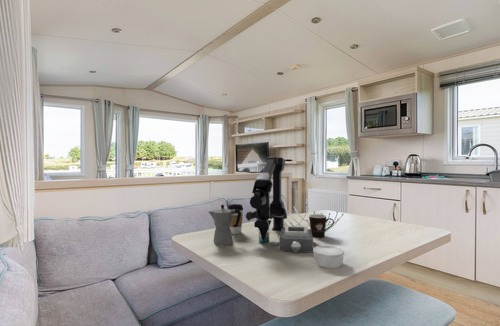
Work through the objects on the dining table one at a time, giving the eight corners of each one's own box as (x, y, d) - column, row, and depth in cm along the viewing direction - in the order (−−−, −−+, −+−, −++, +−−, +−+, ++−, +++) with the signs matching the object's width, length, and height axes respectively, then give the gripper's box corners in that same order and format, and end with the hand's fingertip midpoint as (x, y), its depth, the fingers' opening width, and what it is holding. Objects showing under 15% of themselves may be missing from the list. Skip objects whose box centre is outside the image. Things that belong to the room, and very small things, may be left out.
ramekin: (335, 257, 108) (335, 244, 107) (350, 268, 96) (350, 253, 96) (308, 259, 106) (308, 246, 105) (320, 271, 95) (320, 256, 94)
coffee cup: (225, 234, 142) (224, 205, 142) (232, 229, 150) (231, 202, 149) (239, 235, 139) (239, 206, 138) (246, 231, 147) (245, 203, 146)
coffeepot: (207, 246, 123) (207, 206, 122) (210, 239, 132) (209, 203, 132) (241, 245, 123) (241, 206, 123) (241, 239, 133) (241, 202, 132)
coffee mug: (307, 237, 134) (306, 217, 134) (311, 232, 142) (311, 213, 142) (331, 240, 129) (330, 219, 129) (334, 235, 137) (334, 215, 136)
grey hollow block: (281, 239, 131) (281, 224, 131) (311, 240, 128) (311, 225, 128) (279, 252, 113) (278, 234, 113) (313, 254, 111) (313, 236, 111)
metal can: (259, 240, 130) (259, 222, 130) (270, 240, 130) (269, 223, 129) (257, 243, 125) (257, 225, 125) (268, 244, 125) (268, 225, 124)
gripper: (250, 201, 138) (250, 231, 138) (242, 208, 119) (243, 243, 120) (272, 201, 136) (272, 232, 136) (267, 208, 117) (268, 244, 118)
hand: (264, 237), depth 127 cm, fingers closed on metal can, 5 cm apart
